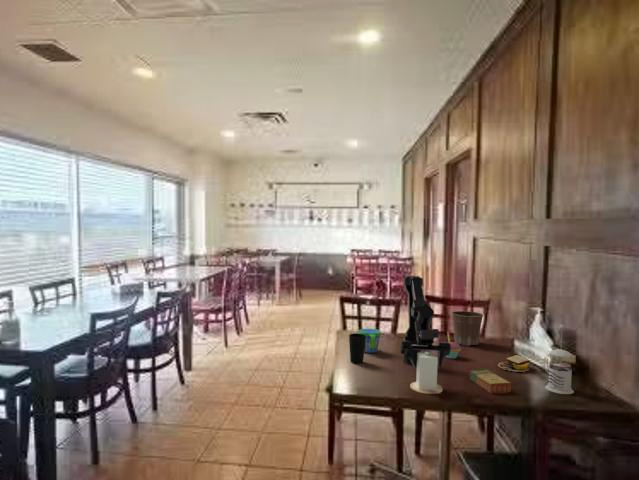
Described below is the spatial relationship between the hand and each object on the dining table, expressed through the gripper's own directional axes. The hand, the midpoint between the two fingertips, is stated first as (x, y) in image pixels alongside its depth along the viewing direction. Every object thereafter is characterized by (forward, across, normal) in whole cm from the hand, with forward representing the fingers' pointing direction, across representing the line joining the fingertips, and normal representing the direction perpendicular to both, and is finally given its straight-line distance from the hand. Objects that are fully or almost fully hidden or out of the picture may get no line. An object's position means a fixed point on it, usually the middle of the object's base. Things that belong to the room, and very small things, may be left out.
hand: (427, 368), depth 168 cm
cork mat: (+5, 0, +7) cm, 8 cm away
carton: (+1, +25, +12) cm, 28 cm away
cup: (-16, -25, +28) cm, 41 cm away
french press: (0, +51, +11) cm, 52 cm away
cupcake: (-27, +20, +38) cm, 51 cm away
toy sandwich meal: (-17, +44, +29) cm, 55 cm away
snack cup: (-30, -18, +41) cm, 54 cm away
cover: (+4, 0, +6) cm, 8 cm away
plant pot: (-46, +35, +58) cm, 82 cm away
